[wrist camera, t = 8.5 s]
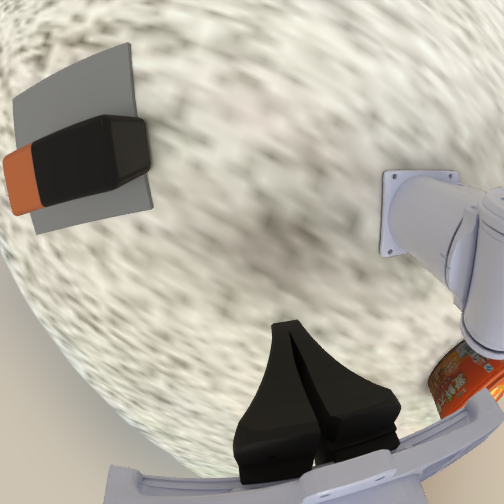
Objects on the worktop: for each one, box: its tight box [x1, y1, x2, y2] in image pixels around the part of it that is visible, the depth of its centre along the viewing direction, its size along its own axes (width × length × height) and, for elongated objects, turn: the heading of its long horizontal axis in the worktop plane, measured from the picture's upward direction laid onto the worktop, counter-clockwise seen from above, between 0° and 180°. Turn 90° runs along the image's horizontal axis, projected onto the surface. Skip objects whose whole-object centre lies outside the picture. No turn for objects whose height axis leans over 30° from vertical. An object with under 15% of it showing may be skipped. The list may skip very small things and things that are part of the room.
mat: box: [13, 42, 153, 235], centre depth 17 cm, size 13×14×1 cm
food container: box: [428, 340, 504, 419], centre depth 29 cm, size 16×16×11 cm
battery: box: [3, 114, 150, 216], centre depth 15 cm, size 4×7×10 cm
